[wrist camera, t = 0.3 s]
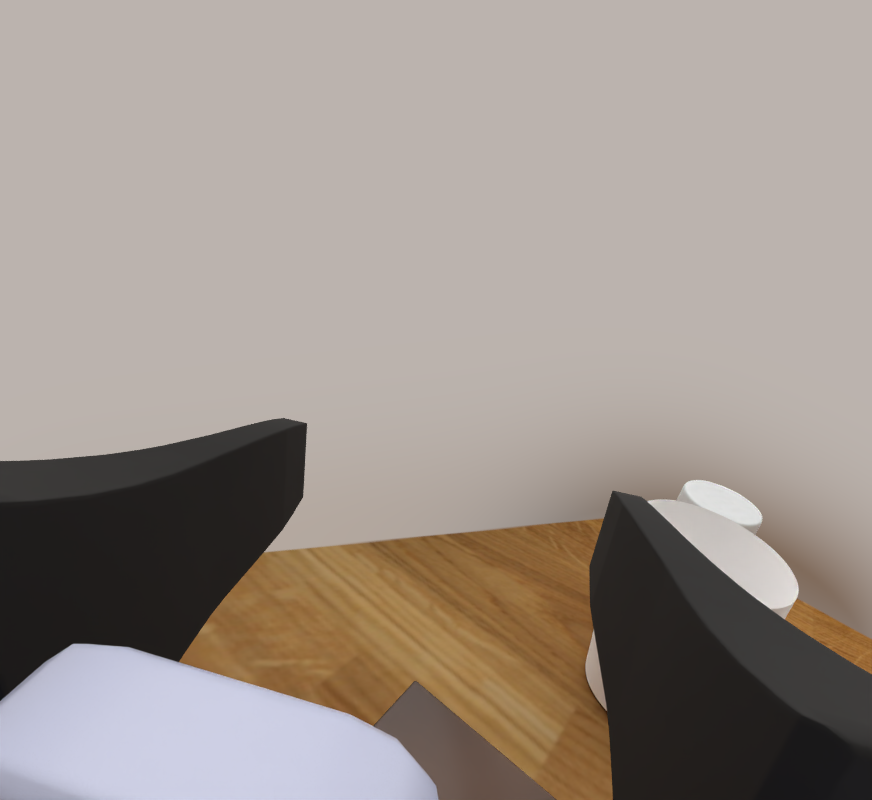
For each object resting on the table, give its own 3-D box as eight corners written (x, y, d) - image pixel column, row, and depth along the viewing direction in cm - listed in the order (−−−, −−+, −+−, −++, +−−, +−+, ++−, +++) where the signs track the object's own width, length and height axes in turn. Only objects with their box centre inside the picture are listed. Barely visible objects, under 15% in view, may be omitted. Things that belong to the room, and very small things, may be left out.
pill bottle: (715, 662, 36) (791, 540, 32) (631, 640, 37) (694, 516, 32) (687, 598, 42) (748, 487, 37) (615, 580, 42) (666, 467, 38)
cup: (710, 678, 35) (793, 544, 30) (703, 797, 27) (813, 645, 23) (585, 609, 38) (642, 480, 34) (549, 699, 31) (616, 549, 26)
